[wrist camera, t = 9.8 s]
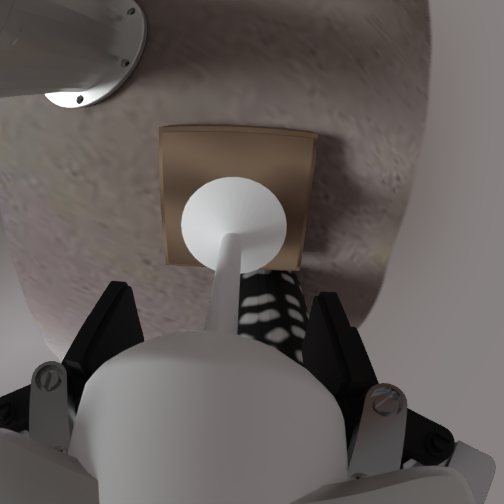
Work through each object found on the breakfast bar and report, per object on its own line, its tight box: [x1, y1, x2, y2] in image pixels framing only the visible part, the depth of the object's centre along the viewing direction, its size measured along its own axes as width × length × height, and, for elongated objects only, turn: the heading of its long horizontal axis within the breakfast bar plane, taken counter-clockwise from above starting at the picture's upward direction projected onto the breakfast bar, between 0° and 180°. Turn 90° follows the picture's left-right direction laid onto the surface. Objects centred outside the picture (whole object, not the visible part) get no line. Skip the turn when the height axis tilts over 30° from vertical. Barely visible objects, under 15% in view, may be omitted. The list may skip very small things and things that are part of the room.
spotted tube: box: [237, 269, 309, 367], centre depth 21 cm, size 8×8×20 cm
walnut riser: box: [159, 124, 318, 271], centre depth 23 cm, size 12×12×4 cm
